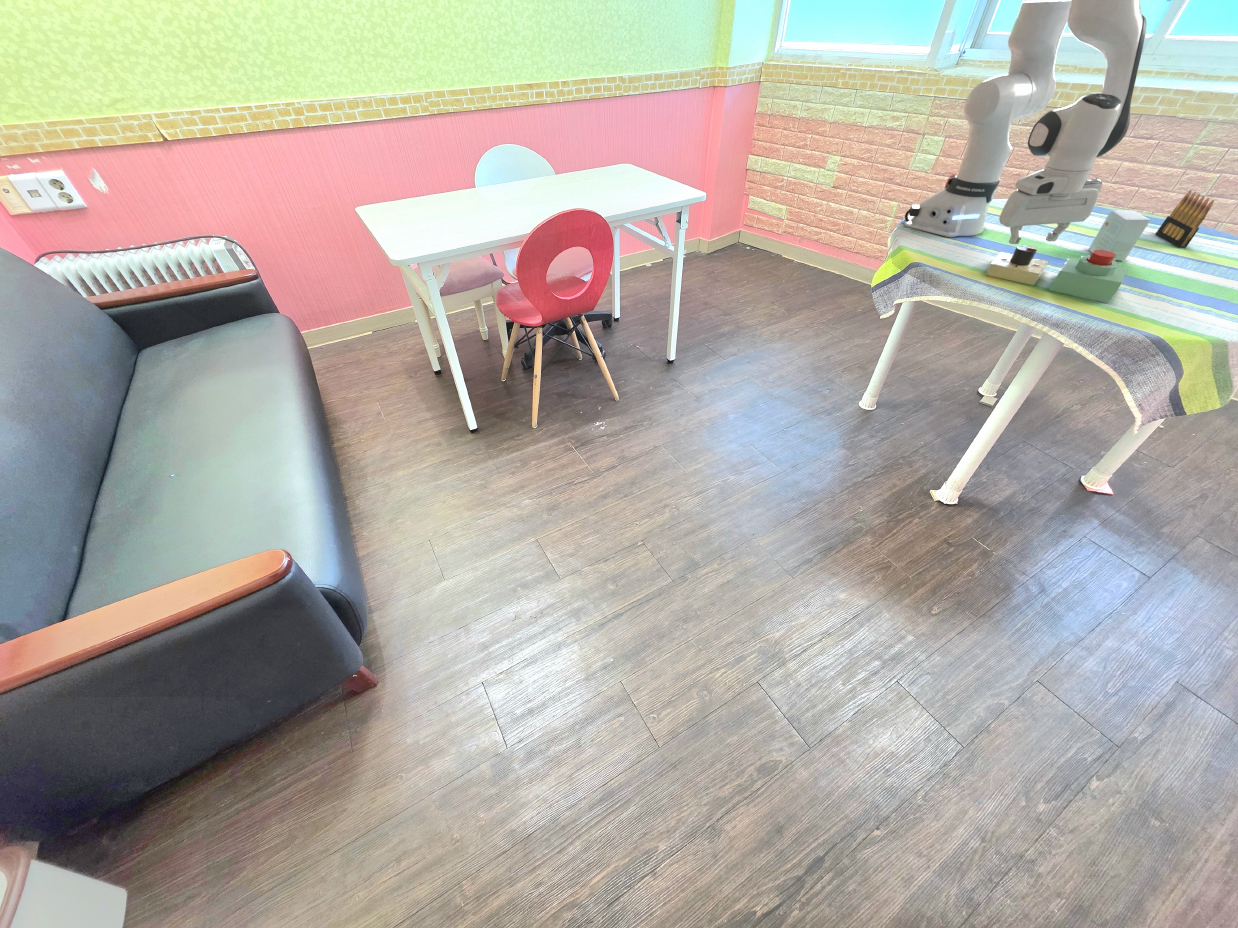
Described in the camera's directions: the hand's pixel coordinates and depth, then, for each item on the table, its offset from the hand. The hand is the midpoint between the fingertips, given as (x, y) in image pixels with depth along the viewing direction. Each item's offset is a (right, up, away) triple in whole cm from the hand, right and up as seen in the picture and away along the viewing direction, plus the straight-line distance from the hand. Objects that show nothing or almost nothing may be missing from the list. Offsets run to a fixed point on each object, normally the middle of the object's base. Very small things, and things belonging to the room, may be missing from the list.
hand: (1031, 242), depth 125 cm
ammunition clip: (+54, +8, +17) cm, 57 cm away
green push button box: (+11, -13, -2) cm, 17 cm away
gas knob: (0, -4, +4) cm, 5 cm away
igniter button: (+10, -8, -7) cm, 15 cm away
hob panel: (0, -6, +6) cm, 8 cm away
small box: (+30, +1, +12) cm, 33 cm away
